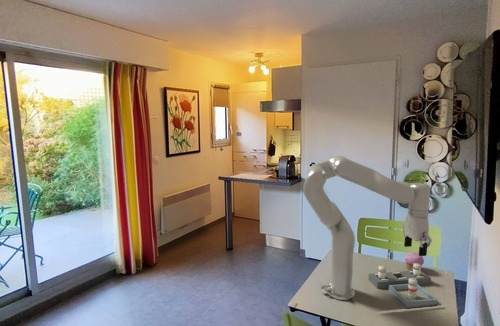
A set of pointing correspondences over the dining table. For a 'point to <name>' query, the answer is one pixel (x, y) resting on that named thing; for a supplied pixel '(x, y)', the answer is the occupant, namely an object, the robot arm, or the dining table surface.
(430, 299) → the tray
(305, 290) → the dining table surface
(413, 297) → the cylinder
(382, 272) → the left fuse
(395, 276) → the fuse holder
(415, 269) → the right fuse
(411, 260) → the cupcake
